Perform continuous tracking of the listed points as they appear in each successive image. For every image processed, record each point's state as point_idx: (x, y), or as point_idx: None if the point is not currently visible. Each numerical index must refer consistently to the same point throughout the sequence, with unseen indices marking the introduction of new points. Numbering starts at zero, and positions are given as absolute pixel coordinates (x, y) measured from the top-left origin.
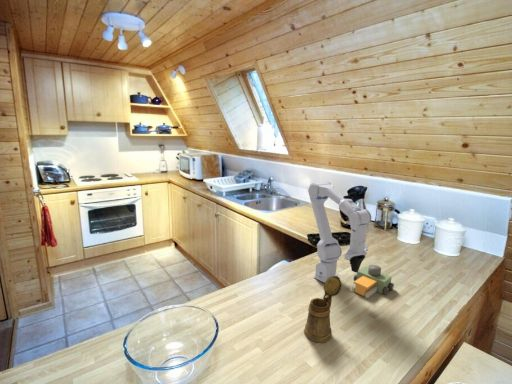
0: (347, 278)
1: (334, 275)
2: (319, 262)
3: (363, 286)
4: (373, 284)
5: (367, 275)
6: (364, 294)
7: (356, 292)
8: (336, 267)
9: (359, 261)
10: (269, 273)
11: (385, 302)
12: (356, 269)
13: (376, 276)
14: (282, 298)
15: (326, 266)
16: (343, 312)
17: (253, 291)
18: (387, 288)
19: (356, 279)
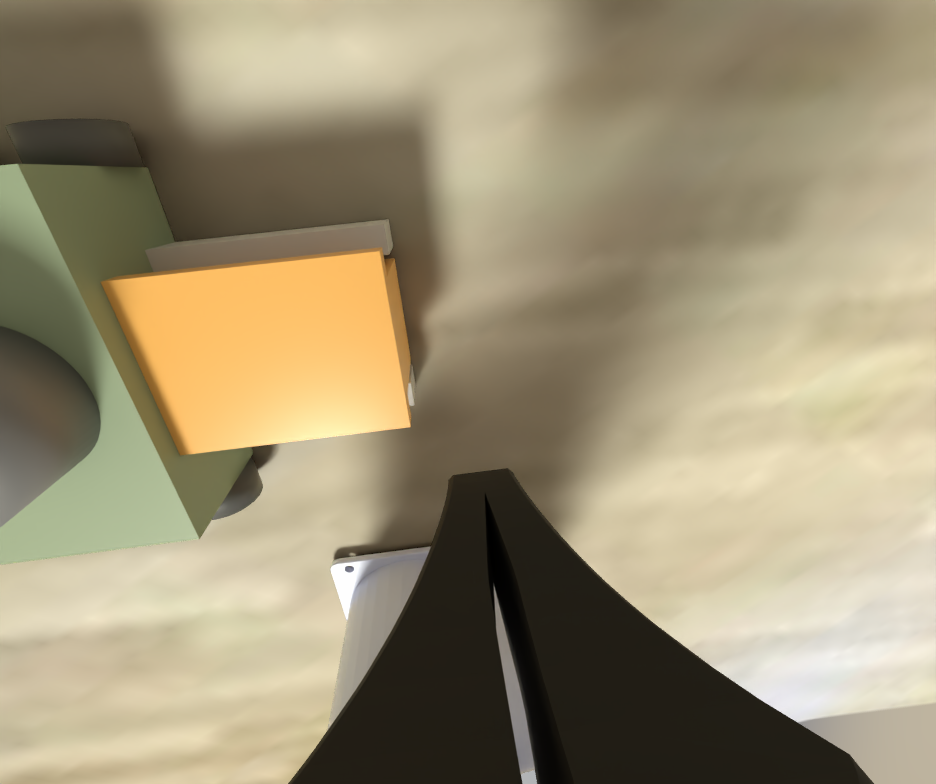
0: (275, 525)
1: (405, 588)
2: (534, 769)
3: (389, 304)
4: (206, 267)
5: (145, 423)
6: (391, 261)
7: (407, 342)
8: (362, 661)
9: (667, 699)
10: None
11: (264, 26)
12: (536, 509)
13: (28, 338)
14: (875, 552)
15: (522, 706)
16: (780, 209)
17: (899, 654)
18: (35, 122)
19: (241, 471)
